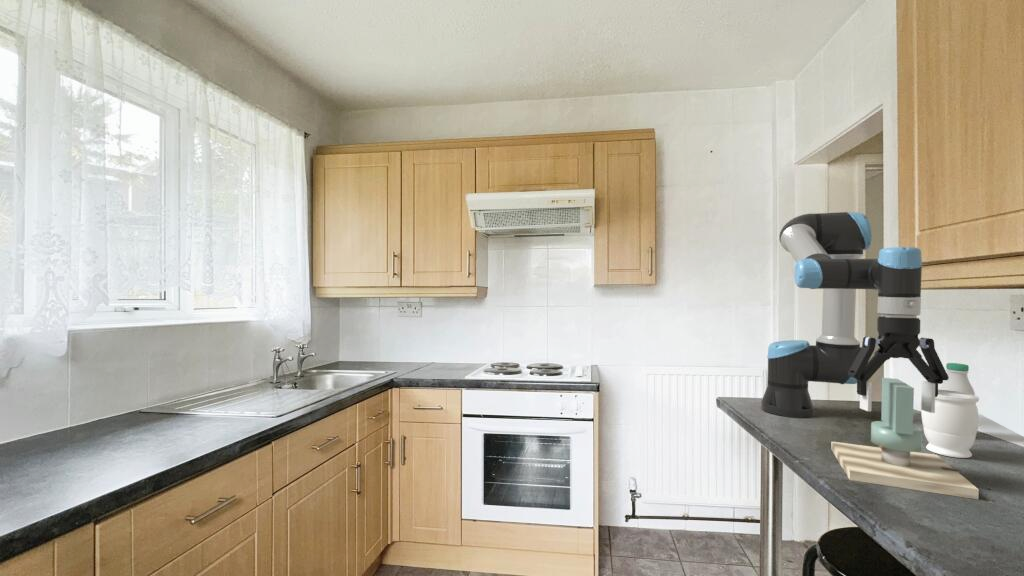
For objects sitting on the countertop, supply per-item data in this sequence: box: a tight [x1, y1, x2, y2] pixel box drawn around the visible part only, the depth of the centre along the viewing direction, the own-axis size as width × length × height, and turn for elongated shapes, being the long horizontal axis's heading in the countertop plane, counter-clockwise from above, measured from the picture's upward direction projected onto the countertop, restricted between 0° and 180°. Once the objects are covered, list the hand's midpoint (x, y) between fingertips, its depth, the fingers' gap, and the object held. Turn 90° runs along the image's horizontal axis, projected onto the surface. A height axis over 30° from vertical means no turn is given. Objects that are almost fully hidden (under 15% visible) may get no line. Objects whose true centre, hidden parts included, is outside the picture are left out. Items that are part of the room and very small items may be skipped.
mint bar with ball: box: [870, 377, 924, 452], centre depth 108 cm, size 9×13×14 cm
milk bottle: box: [938, 362, 976, 396], centre depth 135 cm, size 8×8×20 cm
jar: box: [920, 389, 980, 459], centre depth 120 cm, size 11×10×15 cm
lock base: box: [830, 441, 980, 500], centre depth 108 cm, size 22×22×6 cm
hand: (896, 410), depth 108 cm, fingers open, 13 cm apart
